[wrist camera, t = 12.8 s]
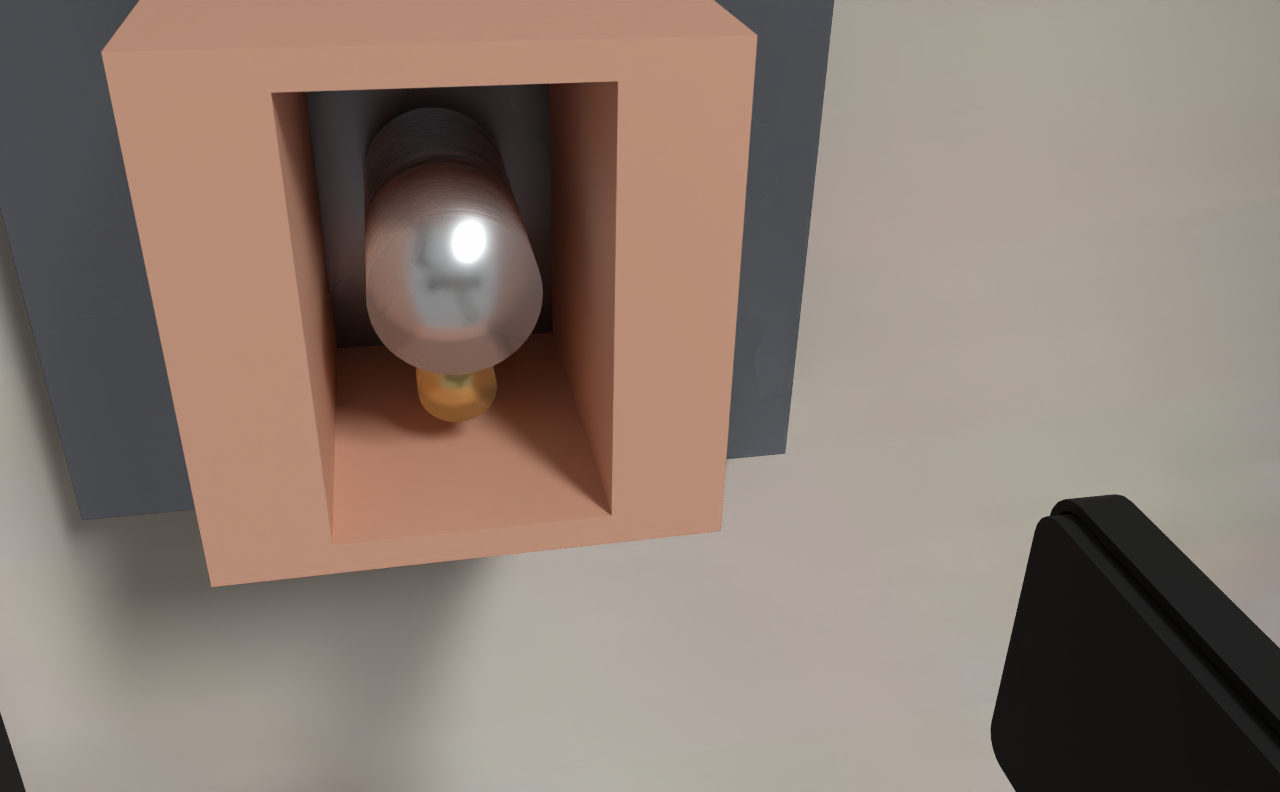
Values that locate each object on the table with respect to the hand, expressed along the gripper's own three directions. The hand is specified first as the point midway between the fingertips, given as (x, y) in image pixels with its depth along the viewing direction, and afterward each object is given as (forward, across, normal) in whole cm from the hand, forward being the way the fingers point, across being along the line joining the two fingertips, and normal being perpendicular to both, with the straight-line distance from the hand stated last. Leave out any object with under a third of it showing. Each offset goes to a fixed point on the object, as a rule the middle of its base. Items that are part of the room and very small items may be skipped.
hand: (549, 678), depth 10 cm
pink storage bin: (+12, 0, -1) cm, 12 cm away
